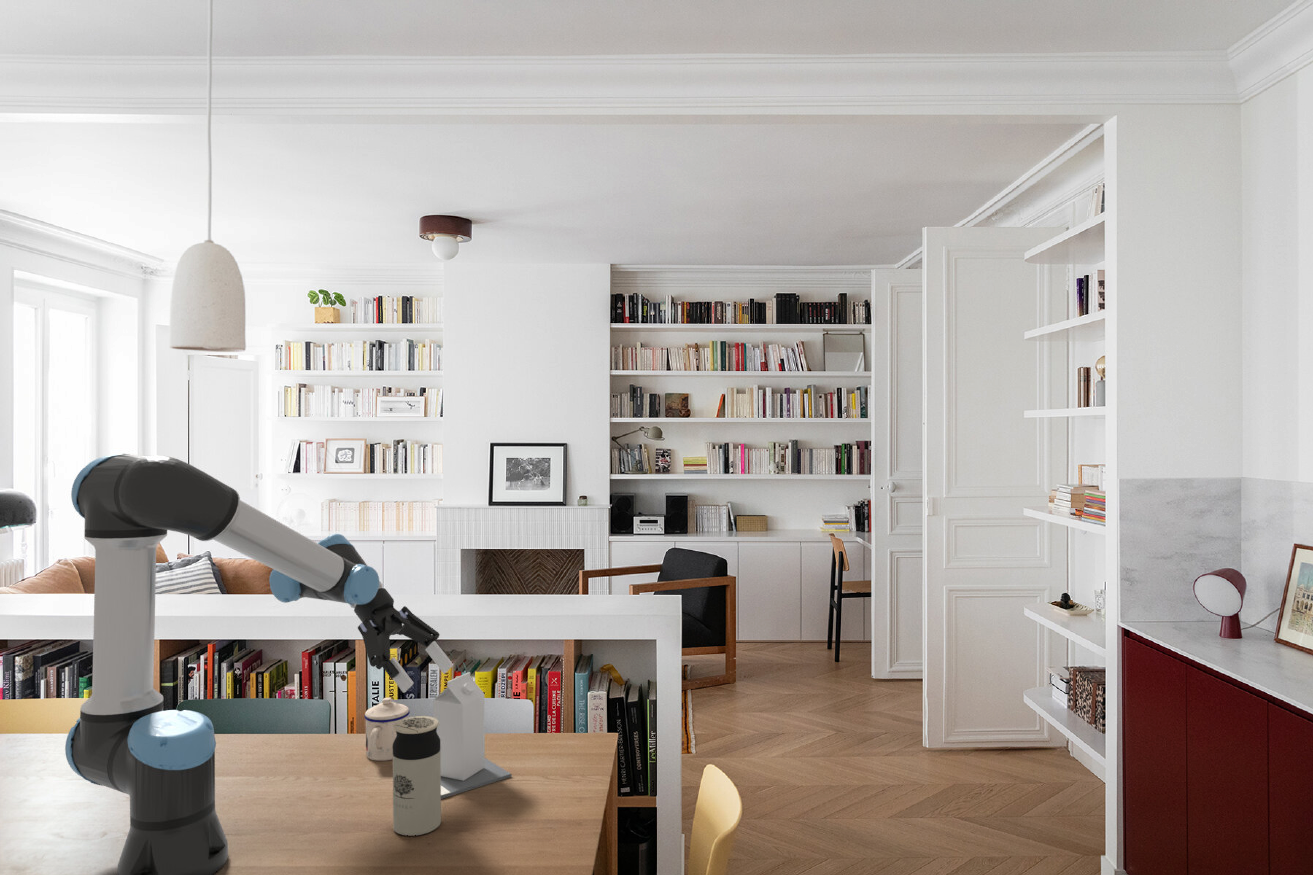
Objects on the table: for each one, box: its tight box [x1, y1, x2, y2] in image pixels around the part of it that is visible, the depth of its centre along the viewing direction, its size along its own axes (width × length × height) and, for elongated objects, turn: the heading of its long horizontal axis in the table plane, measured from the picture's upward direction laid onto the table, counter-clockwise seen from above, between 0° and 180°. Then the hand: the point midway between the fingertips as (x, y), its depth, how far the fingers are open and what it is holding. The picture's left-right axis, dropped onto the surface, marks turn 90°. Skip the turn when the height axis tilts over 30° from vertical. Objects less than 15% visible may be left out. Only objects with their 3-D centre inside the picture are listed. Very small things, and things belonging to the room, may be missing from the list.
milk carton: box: [433, 671, 486, 781], centre depth 168 cm, size 7×7×19 cm
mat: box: [441, 757, 512, 800], centre depth 169 cm, size 18×16×1 cm
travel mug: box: [392, 715, 442, 837], centre depth 147 cm, size 8×8×18 cm
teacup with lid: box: [364, 697, 411, 762], centre depth 178 cm, size 12×9×12 cm
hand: (429, 678), depth 172 cm, fingers open, 13 cm apart
